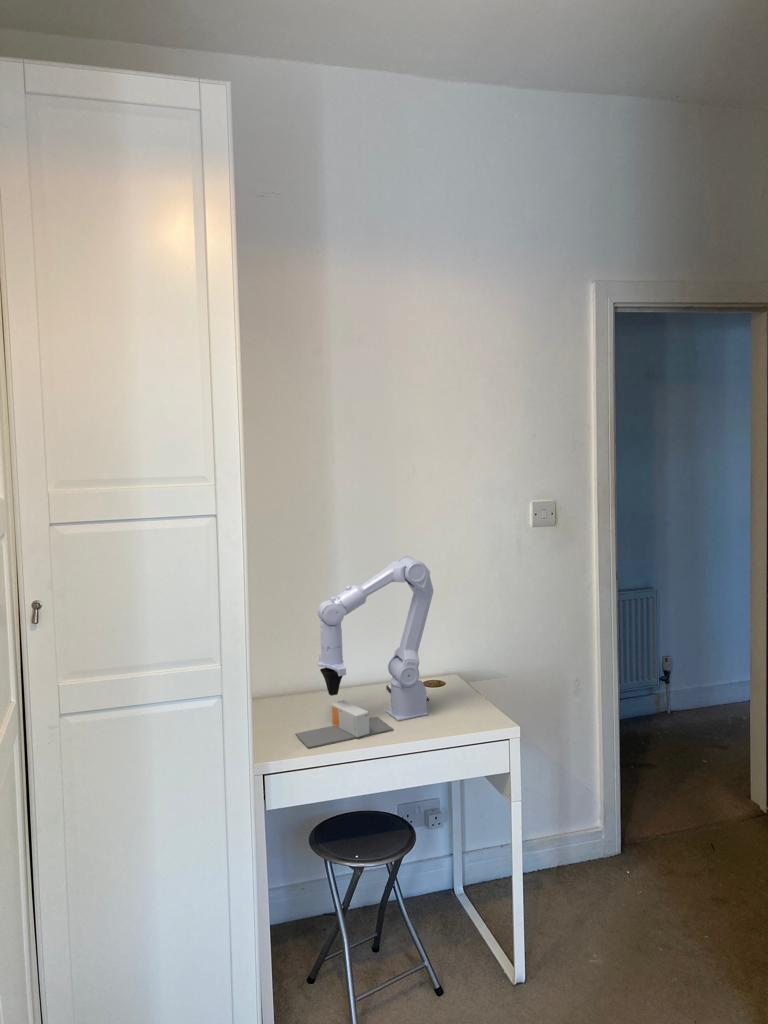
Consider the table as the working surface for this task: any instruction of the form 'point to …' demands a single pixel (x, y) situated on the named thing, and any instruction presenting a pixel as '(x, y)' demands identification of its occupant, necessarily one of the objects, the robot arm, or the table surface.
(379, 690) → the table surface
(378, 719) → the mat
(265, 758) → the table surface
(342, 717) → the skincare box
